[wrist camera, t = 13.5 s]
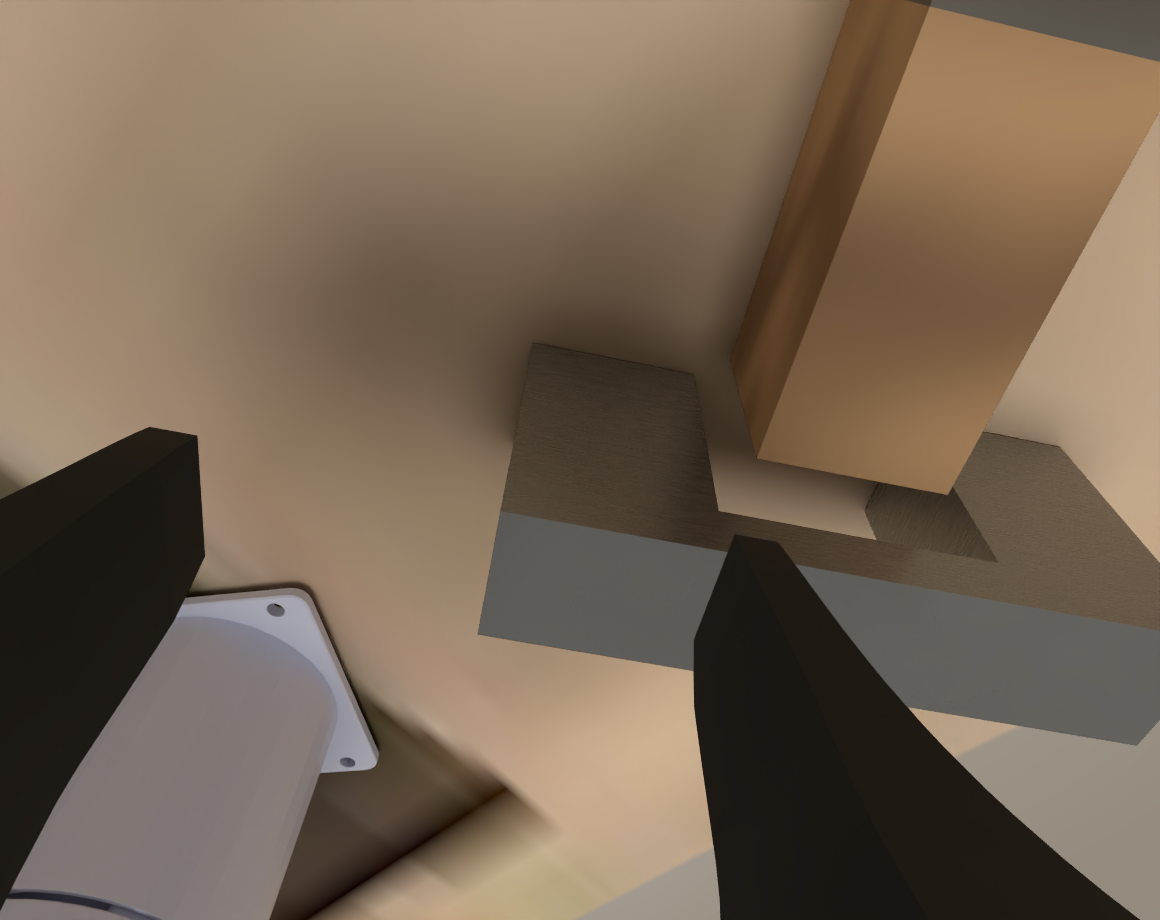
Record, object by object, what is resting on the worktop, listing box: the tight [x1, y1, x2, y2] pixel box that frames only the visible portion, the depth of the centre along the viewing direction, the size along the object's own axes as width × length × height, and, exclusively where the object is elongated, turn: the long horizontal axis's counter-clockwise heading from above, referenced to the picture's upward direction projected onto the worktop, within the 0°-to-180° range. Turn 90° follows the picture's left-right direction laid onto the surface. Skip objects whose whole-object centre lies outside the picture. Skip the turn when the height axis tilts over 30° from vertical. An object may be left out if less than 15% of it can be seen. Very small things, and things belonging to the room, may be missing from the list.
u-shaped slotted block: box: [478, 343, 1160, 745], centre depth 18 cm, size 3×14×7 cm, turn 79°
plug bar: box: [730, 0, 1160, 495], centre depth 15 cm, size 11×4×4 cm, turn 169°
